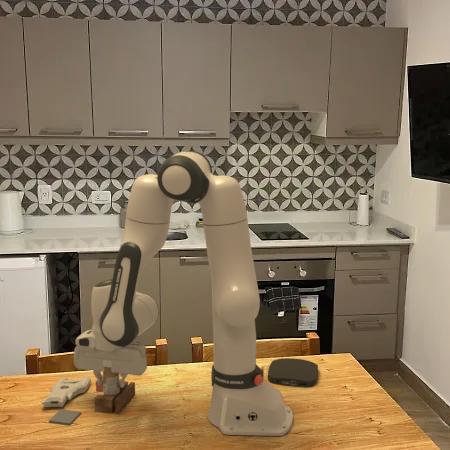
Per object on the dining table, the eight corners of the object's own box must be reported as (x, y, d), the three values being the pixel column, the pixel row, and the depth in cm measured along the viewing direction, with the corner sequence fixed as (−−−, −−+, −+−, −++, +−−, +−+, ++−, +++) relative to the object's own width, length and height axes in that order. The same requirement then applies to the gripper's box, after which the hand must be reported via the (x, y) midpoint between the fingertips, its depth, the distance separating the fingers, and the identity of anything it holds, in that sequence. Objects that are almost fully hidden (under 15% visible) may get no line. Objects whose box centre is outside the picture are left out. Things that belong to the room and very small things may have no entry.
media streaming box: (318, 368, 183) (319, 359, 182) (315, 390, 169) (315, 380, 168) (272, 364, 186) (273, 355, 185) (265, 384, 172) (265, 375, 171)
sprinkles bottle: (104, 399, 162) (102, 354, 160) (120, 398, 163) (118, 353, 160) (103, 407, 158) (101, 361, 155) (120, 406, 159) (118, 360, 156)
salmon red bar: (119, 373, 178) (119, 364, 178) (102, 391, 167) (102, 381, 166) (113, 372, 179) (113, 363, 178) (96, 390, 167) (95, 381, 167)
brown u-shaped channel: (135, 395, 165) (134, 382, 164) (119, 414, 154) (118, 400, 153) (112, 392, 166) (111, 379, 166) (94, 411, 156) (94, 397, 155)
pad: (81, 413, 155) (80, 411, 154) (70, 425, 149) (69, 423, 149) (60, 411, 156) (60, 409, 156) (48, 422, 150) (48, 420, 150)
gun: (76, 398, 155) (38, 398, 155) (76, 410, 156) (39, 410, 156) (92, 372, 173) (58, 372, 173) (92, 383, 174) (59, 383, 174)
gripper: (149, 337, 157) (151, 384, 160) (80, 330, 162) (83, 376, 165) (141, 346, 151) (142, 395, 154) (69, 339, 156) (72, 386, 159)
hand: (111, 385), depth 159 cm, fingers closed on sprinkles bottle, 4 cm apart
